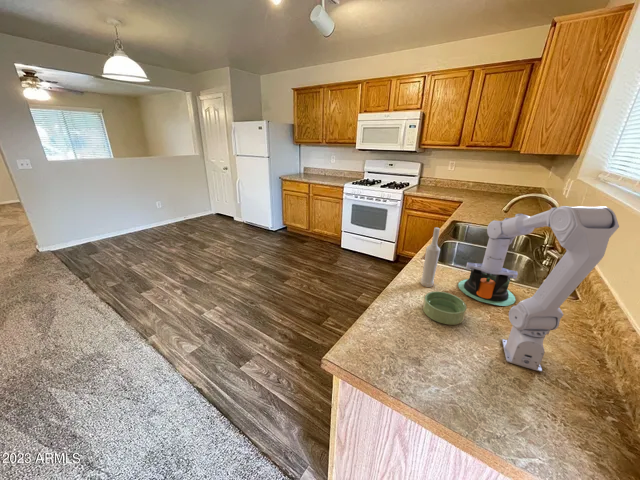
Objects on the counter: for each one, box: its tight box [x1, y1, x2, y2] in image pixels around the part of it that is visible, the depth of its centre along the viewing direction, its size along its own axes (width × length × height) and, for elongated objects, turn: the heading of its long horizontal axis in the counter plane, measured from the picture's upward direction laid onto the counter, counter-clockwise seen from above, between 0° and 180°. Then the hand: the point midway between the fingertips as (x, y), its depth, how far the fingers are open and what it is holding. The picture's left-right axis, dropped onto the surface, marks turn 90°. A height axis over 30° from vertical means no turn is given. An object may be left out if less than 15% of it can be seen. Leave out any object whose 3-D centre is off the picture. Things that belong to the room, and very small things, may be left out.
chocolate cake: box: [457, 269, 516, 307], centre depth 106 cm, size 15×19×20 cm
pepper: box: [477, 278, 495, 299], centre depth 91 cm, size 5×5×7 cm
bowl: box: [422, 290, 468, 326], centre depth 92 cm, size 13×13×5 cm
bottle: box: [420, 227, 441, 288], centre depth 107 cm, size 5×5×25 cm
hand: (484, 291), depth 92 cm, fingers closed on pepper, 4 cm apart
